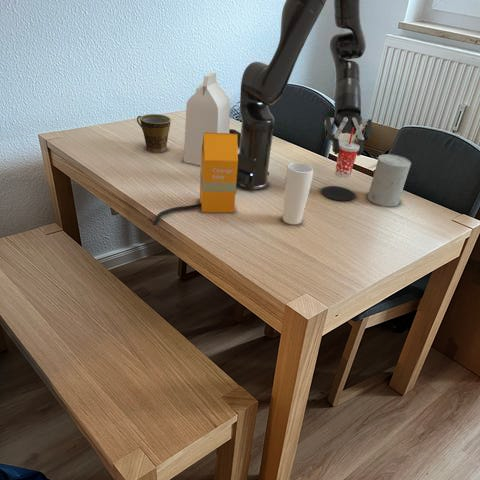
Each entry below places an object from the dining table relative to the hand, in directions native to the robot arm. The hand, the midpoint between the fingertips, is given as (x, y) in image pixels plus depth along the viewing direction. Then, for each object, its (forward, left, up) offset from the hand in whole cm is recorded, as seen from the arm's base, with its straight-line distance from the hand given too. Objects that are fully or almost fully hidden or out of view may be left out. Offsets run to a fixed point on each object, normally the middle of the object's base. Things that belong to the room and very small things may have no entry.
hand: (348, 153), depth 138 cm
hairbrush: (+15, +47, -13) cm, 51 cm away
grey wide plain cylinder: (+7, -12, -13) cm, 19 cm away
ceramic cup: (-15, +64, -13) cm, 67 cm away
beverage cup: (+1, 0, -7) cm, 7 cm away
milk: (-8, +45, -13) cm, 48 cm away
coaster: (0, 0, -13) cm, 13 cm away
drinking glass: (-25, +1, -13) cm, 29 cm away
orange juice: (-34, +21, -13) cm, 42 cm away
